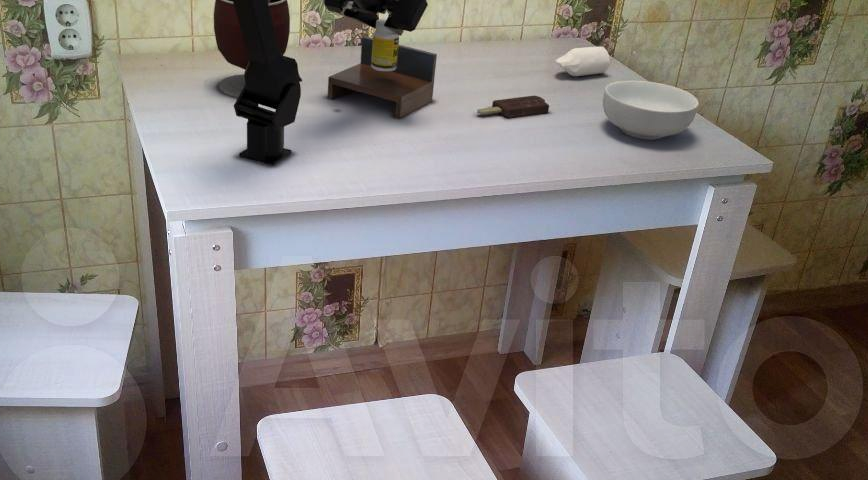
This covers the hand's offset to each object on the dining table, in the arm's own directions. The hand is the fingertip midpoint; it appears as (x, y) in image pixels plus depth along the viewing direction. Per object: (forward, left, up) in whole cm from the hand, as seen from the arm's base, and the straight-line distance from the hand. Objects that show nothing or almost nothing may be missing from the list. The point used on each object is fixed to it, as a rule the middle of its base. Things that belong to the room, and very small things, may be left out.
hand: (390, 30), depth 178 cm
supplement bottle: (-1, 0, -7) cm, 7 cm away
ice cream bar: (+9, -22, -13) cm, 27 cm away
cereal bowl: (+14, -46, -13) cm, 50 cm away
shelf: (0, +1, -13) cm, 13 cm away
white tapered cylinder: (+38, -26, -13) cm, 48 cm away
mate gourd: (-8, +24, -13) cm, 29 cm away
